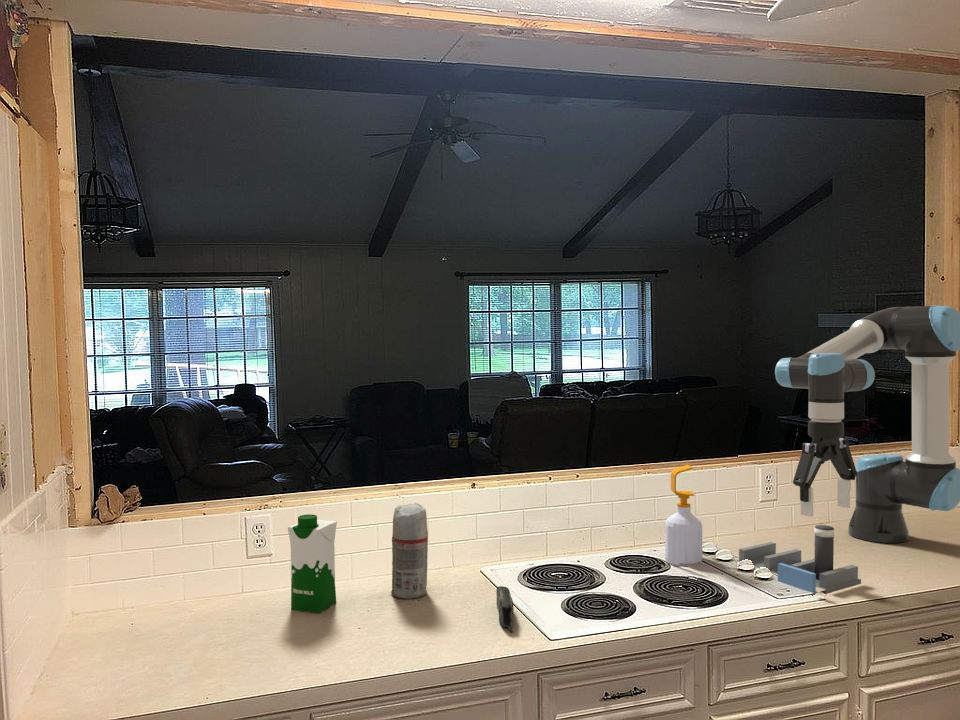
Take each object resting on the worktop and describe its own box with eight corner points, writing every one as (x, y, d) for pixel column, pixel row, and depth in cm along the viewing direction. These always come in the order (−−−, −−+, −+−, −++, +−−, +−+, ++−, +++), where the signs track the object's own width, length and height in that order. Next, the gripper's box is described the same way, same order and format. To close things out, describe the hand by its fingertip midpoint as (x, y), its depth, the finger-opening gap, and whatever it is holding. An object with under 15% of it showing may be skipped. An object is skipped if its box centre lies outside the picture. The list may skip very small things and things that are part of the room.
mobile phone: (494, 584, 164) (501, 608, 149) (508, 584, 164) (516, 607, 149) (494, 607, 164) (501, 633, 149) (508, 607, 164) (516, 632, 150)
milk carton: (284, 610, 162) (283, 517, 161) (307, 596, 171) (306, 508, 170) (321, 615, 159) (319, 520, 158) (342, 601, 168) (341, 510, 167)
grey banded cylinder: (821, 574, 180) (821, 524, 180) (837, 579, 177) (838, 528, 176) (809, 577, 178) (810, 526, 178) (826, 582, 174) (826, 530, 174)
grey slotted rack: (770, 556, 198) (770, 541, 198) (861, 583, 176) (861, 566, 176) (736, 564, 191) (736, 548, 191) (825, 594, 170) (826, 576, 170)
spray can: (435, 590, 174) (434, 503, 173) (417, 602, 167) (416, 511, 166) (403, 585, 178) (402, 500, 177) (384, 596, 170) (383, 507, 169)
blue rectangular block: (780, 584, 176) (781, 562, 176) (815, 595, 169) (815, 573, 169) (777, 585, 176) (777, 563, 176) (812, 596, 168) (812, 574, 168)
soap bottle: (706, 567, 189) (706, 469, 188) (669, 567, 189) (669, 469, 188) (696, 556, 198) (697, 462, 197) (661, 556, 198) (661, 462, 197)
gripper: (844, 414, 185) (843, 500, 186) (776, 422, 173) (776, 515, 174) (873, 417, 179) (873, 506, 180) (805, 426, 166) (805, 522, 167)
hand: (825, 511), depth 177 cm, fingers open, 13 cm apart
